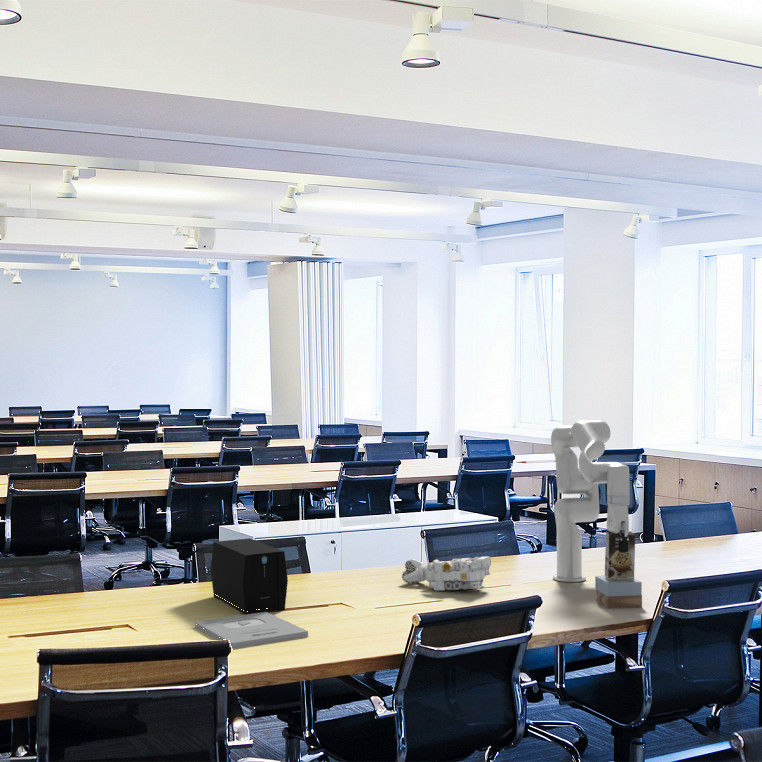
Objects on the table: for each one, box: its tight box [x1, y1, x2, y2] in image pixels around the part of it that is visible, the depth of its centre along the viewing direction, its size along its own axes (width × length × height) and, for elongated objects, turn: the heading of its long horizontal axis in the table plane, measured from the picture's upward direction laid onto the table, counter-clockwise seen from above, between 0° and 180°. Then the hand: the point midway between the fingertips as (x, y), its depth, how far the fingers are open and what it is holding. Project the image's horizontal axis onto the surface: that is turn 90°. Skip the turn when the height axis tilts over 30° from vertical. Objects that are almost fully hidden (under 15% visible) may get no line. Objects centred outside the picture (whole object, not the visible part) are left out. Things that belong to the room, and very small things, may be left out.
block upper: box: [594, 575, 643, 596], centre depth 339 cm, size 12×12×4 cm
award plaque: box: [194, 612, 309, 650], centre depth 304 cm, size 25×30×2 cm
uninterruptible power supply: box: [210, 538, 289, 615], centre depth 345 cm, size 16×34×20 cm, turn 29°
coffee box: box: [604, 530, 636, 581], centre depth 339 cm, size 9×6×16 cm
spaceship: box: [401, 555, 492, 591], centre depth 367 cm, size 16×35×12 cm, turn 60°
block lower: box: [595, 589, 643, 610], centre depth 339 cm, size 12×12×4 cm
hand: (618, 549), depth 339 cm, fingers open, 9 cm apart
